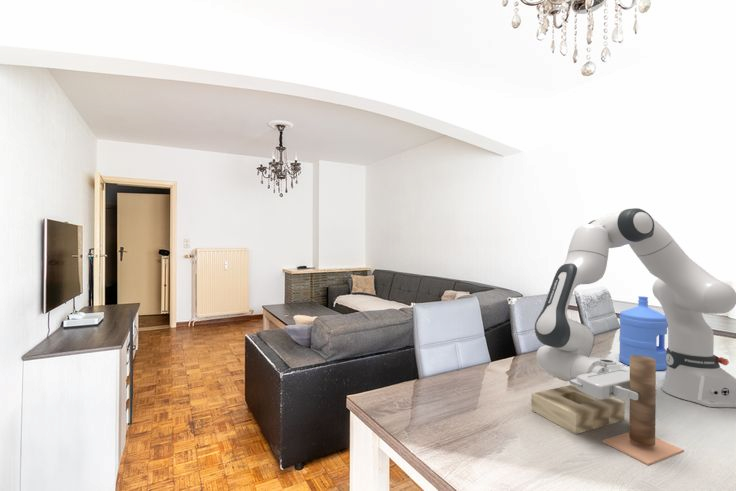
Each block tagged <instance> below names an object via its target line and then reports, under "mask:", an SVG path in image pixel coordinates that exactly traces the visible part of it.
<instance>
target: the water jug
mask: <svg viewBox="0 0 736 491" xmlns="http://www.w3.org/2000/svg"><path fill="white" fill-rule="evenodd" d="M648 299H649V297H648V296H638V300H637V302H638V305H637V306H636V307H632V308H629V309H624V310H621V311H620V312H619V336H618V337H619V354H618V359H619V361H620V362H621V363H622V364H624V365H627V366H628V367H630V356H631V355H640V356H646V357H650V358H653V359H655V360H656V371H663V370H664V371H665V370H667V363H666V350H667V348H666V347H665V346H666V345H665V340H666V337H665V336H666V335H668V324H667V320H666V316H665V314H663V313H660V312H659V311H657V310H654V309H652V308H650V307H649V305H648V304H649V300H648ZM657 340H658V345H657Z"/></svg>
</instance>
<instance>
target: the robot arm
mask: <svg viewBox="0 0 736 491" xmlns="http://www.w3.org/2000/svg"><path fill="white" fill-rule="evenodd" d="M627 245H629V247H630V249H631V250H632V252H633V253H634V254H635V255H636V256H637V258H638V259H639V261H640V262H641V263H642V264H643V265H644V267H645V269H647V271H648V272H649V274H651V275H653V277H656V278H657V279H656V280H655V281H654V283H653V285H652V293H653V296H654V297H655V298H656V299H657V301H658V302H659V303H660V306H661V308H662V310H663V313H664V315H665V316H666V320H667V324H668V326H667V342H668V343H667V344H668V345H667V347H666V363H667V368H666V369H665V370H666V371H665V374H664V375H665V376H664V378H663V379H664V380H663V383H662V386H661V390H662V391H663V392H665V393H666V394H668V395H671V396H672V397H673V396H674V397H676V398H679V399H680V400H681V399H682V400H685V401H688V402H692V403H693V402H694V403H697V404H700V405H703V406H704V407H710V408H736V377H734V376H733V375H732V374H730V373H729V372H727V370H725V369H723V368H722V367H721V366H720V364H721V365H723V366H728V365H729V364H730V361H729V360H728V359H727V358H725V357H719V356H717V355H715V354H714V346H715V345H714V340H715V339H714V335H715V334H714V333H715V332H714V331H713V329H712V328H711V326H710V325H709V324H708V323H707V322H706V319H705V318H704V316H703V314H707V315H709V314H711V315H713V314H714V315H718V314H719V315H720V314H721V315H723V314H726V313H729V312H730V311H732V310H733V309H734V308H735V306H736V290H735V289H734V288H733V287H732V286H731V285H729V284H727V283H725V282H724V281H721V280H720V279H718V278H716V277H714V276H713V275H712V274H710V273H709V272H708V271H707V270H705V269H704V268H703V267H702V266H700V265H699V264H698V263H696V261H694V260H693V259H691V258H690V256H688V254H686V253H685V250H683V248H682V247H681V246H680V244H678V242H677V241H676V240H675V239H674V237H673V236H672V235H671V234H670V233H669V231H667V229H665V227H664V226H663V225H661V224H660V223H659V222H658V221H657V220H655V219H654V218H653V217H652V215H650V213H649V212H648V211H645V210H644V209H642V208H637V207H636V208H627V209H624V210H621V211H620V210H619V211H616V212H612V213H609V214H607V215H605V216H602V217H600V218H598V219H594V220H592V221H590V222H588V223H585V224H582V225H579V226H578V227H577V228H576V229H575V230H574V233H573V235H572V237H571V240H570V244H569V246H568V250H567V254H566V259H565V261H564V263H563V264H562V265H560V266H559V267H558V269H557V270H556V273H555V274H554V276H553V277H554V278H553V280H552V283H551V285H550V288H549V291H548V294H547V295H546V300H545V302H544V305H543V307H542V310H541V311H540V313H539V315H538V317H537V318H536V320H535V322H534V333H535V336H536V339H537V340H538V341H539V342H540V343H541V344H543V345H542V346H540V347H539V348H538V349H537V351H536V357H535V358H536V362H537V365H538V366H539V367H538V368H540V369H541V370H542V371H543V372H544V373H546V374H548V375H549V376H551V377H553V378H556V379H558V380H560V381H563V382H569V383H570V385H575V386H577V389H578V390H579V391H581V392H583V393H585V394H587V395H589V396H591V397H593V398H596V399H606V398H610V397H613V398H615V397H618V398H625V399H626V398H627V399H629V400H630V399H633V400H639V399H641V397H640V396H641V394H640V393H639V392H637V391H634V390H630V366H625V365H622V364H618V363H617V361H615V360H612V359H606V360H599V359H595V358H596V357H595V358H589V357H590V355H591V353H592V351H593V348H594V345H595V334H594V333H593V330H592V329H591V328H590V327H589V326H588V325H585V324H583V323H580V322H579V321H577V320H576V321H575V320H573V319H571V318H569V316H568V309H569V305H570V302H571V299H572V297H573V293H574V291H575V289H576V288H577V286H580V285H590V284H595V283H596V282H597V283H598V281H600V280H601V279H603V277H604V275H605V273H606V270H607V264H608V261H609V260H608V258H609V249H615V248H621V247H623V246H627Z"/></svg>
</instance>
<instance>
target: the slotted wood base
mask: <svg viewBox="0 0 736 491" xmlns="http://www.w3.org/2000/svg"><path fill="white" fill-rule="evenodd" d="M625 404H626V402H625V401H624V400H621V399H618V398H616V397H610V398H606V399H596V398H593V397H591V396H589V395H587V394H585V393H583V392H581V391H579V390H578V389H577V386H575V385H573V384H569V385H565V386H560V387H556V388H555V387H554V388H552V389H547V390H542V391H537V392H532V393H531V411H532V412H534V413H535V412H536V414H538V415H539V416H541V417H543V418H545V419H547V420H548V421H551V422H552V423H554V424H556V425H557V426H560V428H561V427H562V428H564V429H565V430H566V431H569V432H571V433H573V434H575V435H578V434H581V433H584V432H588V431H591V430H594V429H595V430H596V429H598V428H602V427H605V426H608V425H613V424H615V423H618V422H622V421H625V418H626V416H625V414H626V413H625V412H626V406H625Z"/></svg>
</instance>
